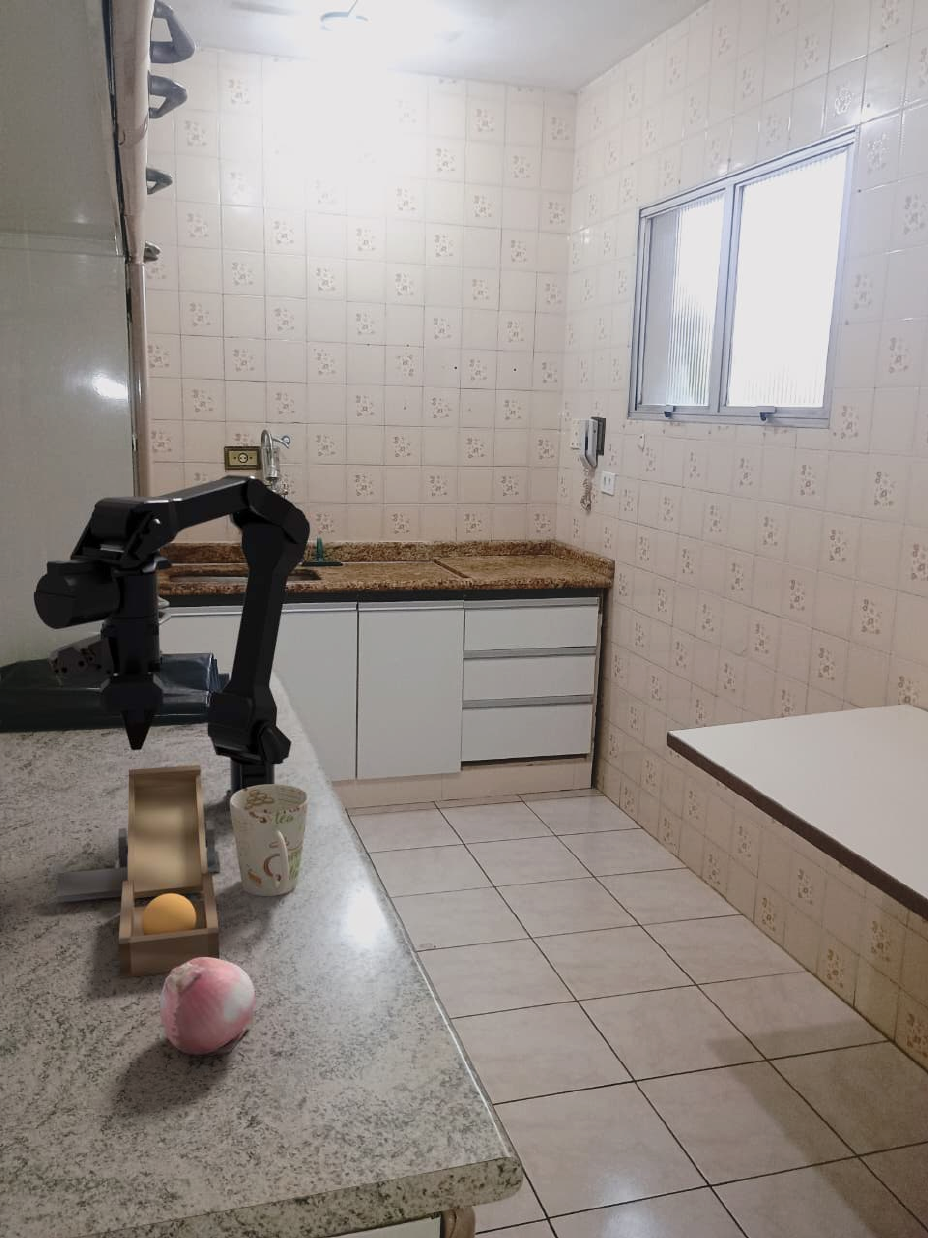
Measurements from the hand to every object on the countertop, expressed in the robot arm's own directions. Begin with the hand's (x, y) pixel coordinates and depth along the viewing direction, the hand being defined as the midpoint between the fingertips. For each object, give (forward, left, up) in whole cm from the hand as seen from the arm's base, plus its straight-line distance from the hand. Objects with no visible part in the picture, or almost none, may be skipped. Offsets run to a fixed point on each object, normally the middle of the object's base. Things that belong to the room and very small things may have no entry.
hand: (136, 749), depth 112 cm
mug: (+12, +14, -13) cm, 23 cm away
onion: (+37, +6, -13) cm, 40 cm away
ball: (+21, +3, -10) cm, 24 cm away
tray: (+19, +3, -13) cm, 24 cm away
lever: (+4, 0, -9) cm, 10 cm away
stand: (+4, +3, -13) cm, 14 cm away
